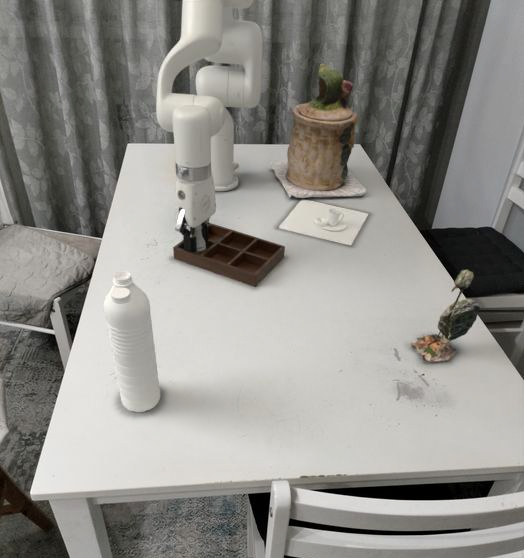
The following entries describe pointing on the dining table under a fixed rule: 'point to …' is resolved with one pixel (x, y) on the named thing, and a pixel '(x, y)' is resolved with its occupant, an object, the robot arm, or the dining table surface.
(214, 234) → the tray
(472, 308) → the plant with pod
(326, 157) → the cookie jar
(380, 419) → the dining table surface
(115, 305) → the water bottle
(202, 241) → the rook chess piece
